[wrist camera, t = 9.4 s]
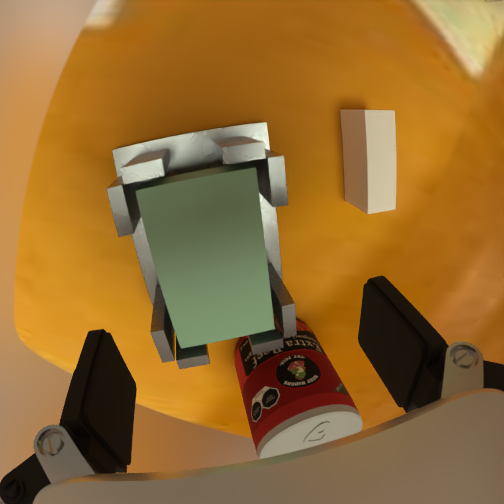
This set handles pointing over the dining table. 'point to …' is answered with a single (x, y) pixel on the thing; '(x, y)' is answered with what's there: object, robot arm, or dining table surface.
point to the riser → (369, 159)
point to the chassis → (190, 160)
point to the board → (209, 252)
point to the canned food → (293, 395)
